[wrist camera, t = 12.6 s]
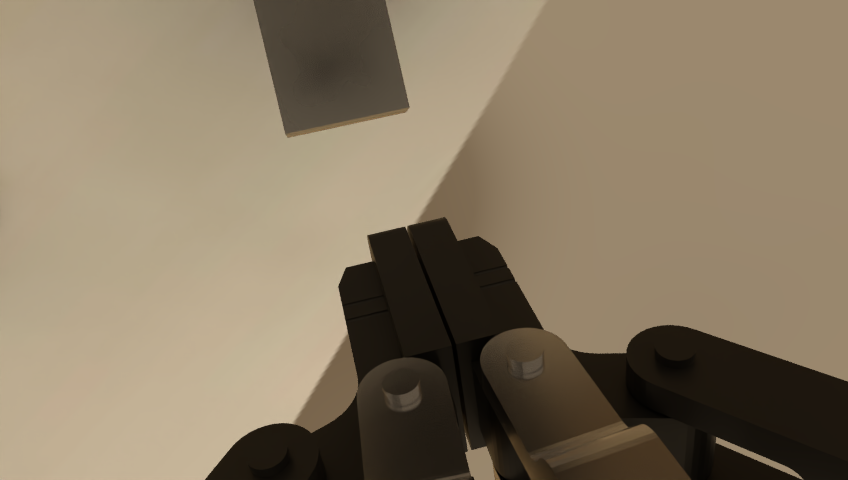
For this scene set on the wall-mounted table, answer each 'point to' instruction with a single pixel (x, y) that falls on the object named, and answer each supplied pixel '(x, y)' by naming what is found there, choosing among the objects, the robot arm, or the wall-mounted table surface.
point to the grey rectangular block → (331, 62)
